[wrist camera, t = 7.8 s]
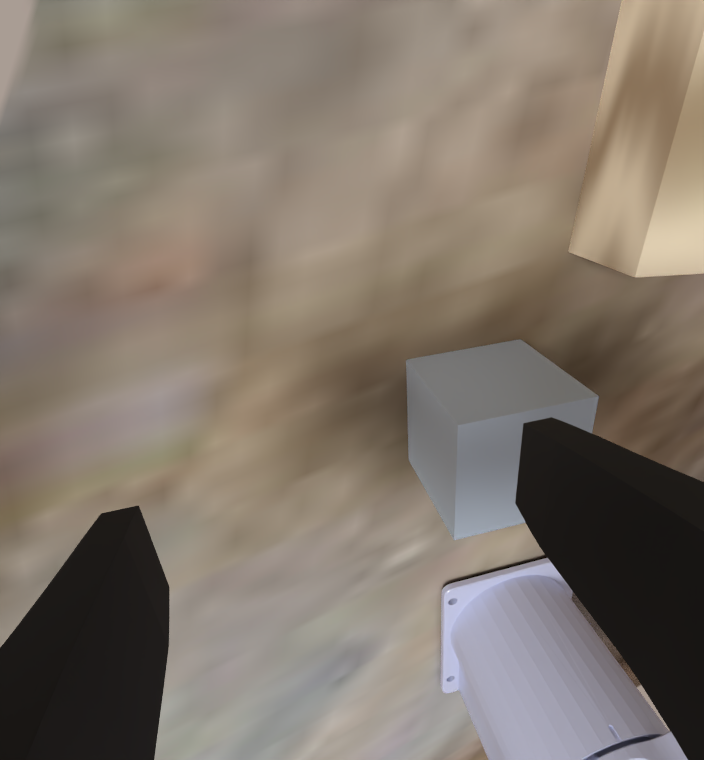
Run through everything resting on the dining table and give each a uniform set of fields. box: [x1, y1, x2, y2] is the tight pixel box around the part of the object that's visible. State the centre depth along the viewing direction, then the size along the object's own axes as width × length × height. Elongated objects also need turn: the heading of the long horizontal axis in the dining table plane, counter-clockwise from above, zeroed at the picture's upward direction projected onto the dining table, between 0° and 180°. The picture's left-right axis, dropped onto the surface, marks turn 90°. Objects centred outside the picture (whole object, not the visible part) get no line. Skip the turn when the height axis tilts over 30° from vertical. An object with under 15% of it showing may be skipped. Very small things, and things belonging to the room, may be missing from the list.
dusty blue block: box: [406, 339, 599, 540], centre depth 19 cm, size 5×5×5 cm
